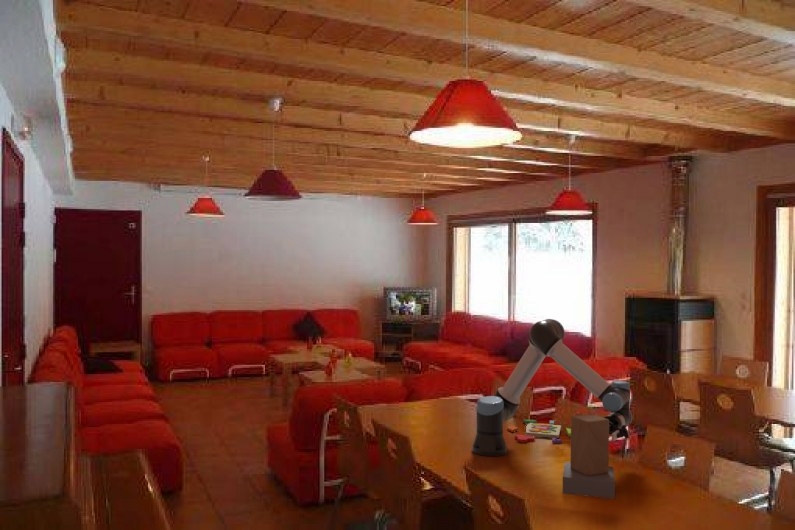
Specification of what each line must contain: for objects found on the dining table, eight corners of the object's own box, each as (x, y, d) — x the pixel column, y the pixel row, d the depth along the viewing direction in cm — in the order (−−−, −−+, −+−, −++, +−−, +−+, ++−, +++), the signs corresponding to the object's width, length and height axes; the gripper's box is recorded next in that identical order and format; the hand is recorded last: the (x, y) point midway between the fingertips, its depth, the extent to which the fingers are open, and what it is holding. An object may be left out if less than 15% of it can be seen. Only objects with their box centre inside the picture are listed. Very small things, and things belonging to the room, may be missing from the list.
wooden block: (609, 473, 238) (609, 419, 238) (587, 476, 234) (588, 421, 234) (590, 465, 247) (591, 413, 247) (569, 468, 243) (570, 415, 243)
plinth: (562, 493, 234) (562, 476, 234) (564, 477, 251) (564, 462, 251) (614, 499, 228) (614, 482, 228) (613, 482, 246) (613, 466, 246)
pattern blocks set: (502, 423, 336) (502, 417, 336) (567, 424, 335) (567, 418, 335) (513, 443, 298) (513, 437, 298) (586, 445, 297) (586, 438, 297)
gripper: (644, 437, 254) (628, 450, 237) (582, 427, 269) (563, 438, 252) (644, 418, 254) (628, 429, 237) (583, 409, 269) (563, 419, 252)
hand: (594, 434), depth 245 cm, fingers open, 13 cm apart
